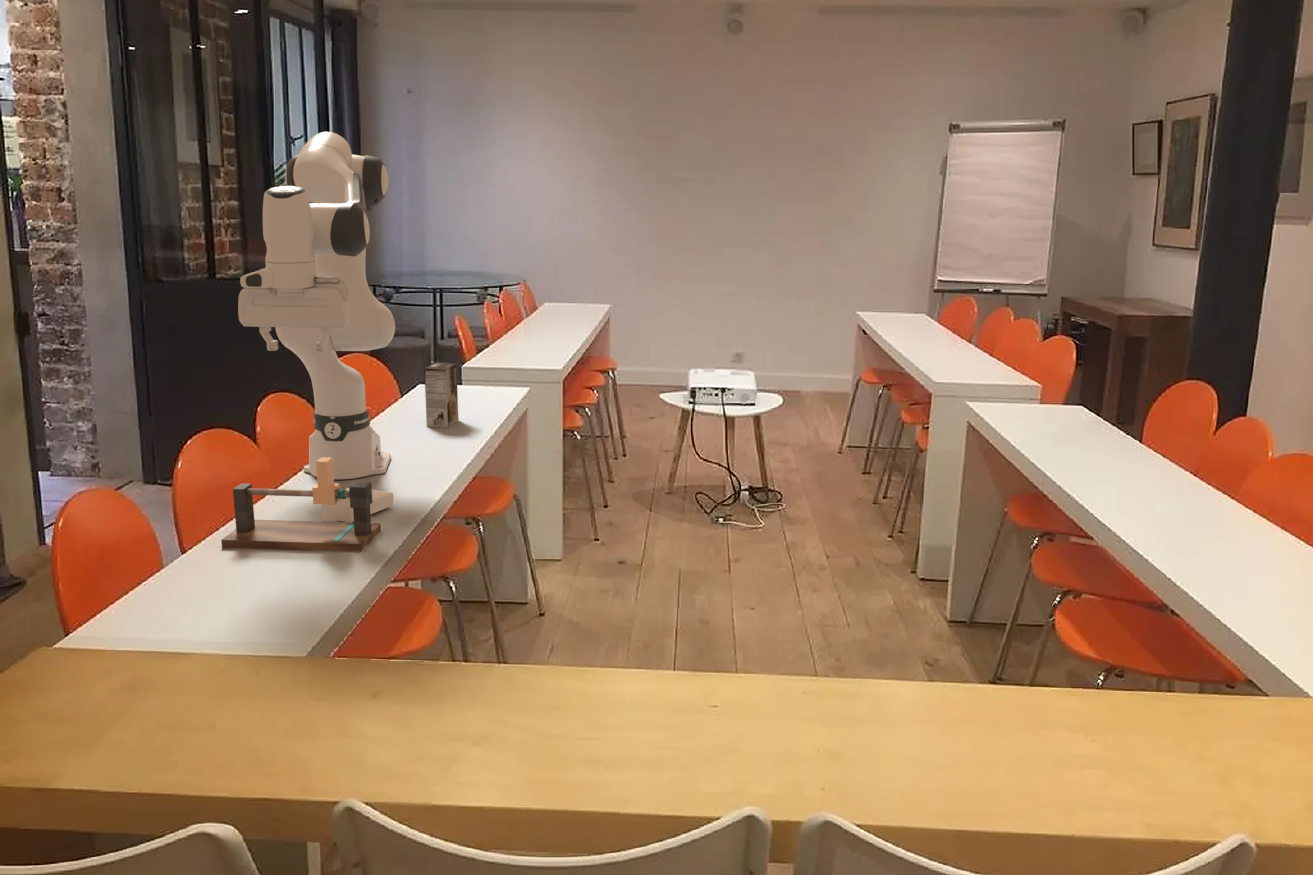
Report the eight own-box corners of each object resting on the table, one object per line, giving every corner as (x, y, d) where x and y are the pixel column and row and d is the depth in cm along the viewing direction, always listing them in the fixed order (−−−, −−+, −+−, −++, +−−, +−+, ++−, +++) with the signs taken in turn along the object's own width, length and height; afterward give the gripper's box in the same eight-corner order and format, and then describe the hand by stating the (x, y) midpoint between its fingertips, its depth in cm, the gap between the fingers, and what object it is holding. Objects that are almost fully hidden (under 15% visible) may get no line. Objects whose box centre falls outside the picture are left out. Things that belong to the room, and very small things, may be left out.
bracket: (351, 527, 215) (348, 490, 214) (322, 522, 218) (320, 485, 217) (393, 509, 227) (392, 473, 225) (366, 504, 230) (364, 469, 228)
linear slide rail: (249, 526, 214) (245, 472, 211) (381, 530, 212) (378, 475, 210) (221, 547, 202) (216, 490, 200) (361, 551, 201) (357, 494, 198)
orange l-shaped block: (319, 499, 207) (316, 457, 205) (340, 499, 207) (337, 457, 205) (313, 504, 204) (310, 461, 202) (334, 504, 204) (331, 462, 202)
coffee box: (436, 419, 305) (434, 361, 301) (459, 420, 304) (457, 362, 300) (425, 427, 296) (423, 367, 293) (448, 428, 296) (446, 368, 292)
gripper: (352, 275, 206) (357, 349, 209) (245, 273, 207) (252, 346, 211) (341, 279, 200) (346, 355, 203) (231, 277, 201) (237, 352, 204)
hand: (297, 350), depth 207 cm, fingers open, 8 cm apart
